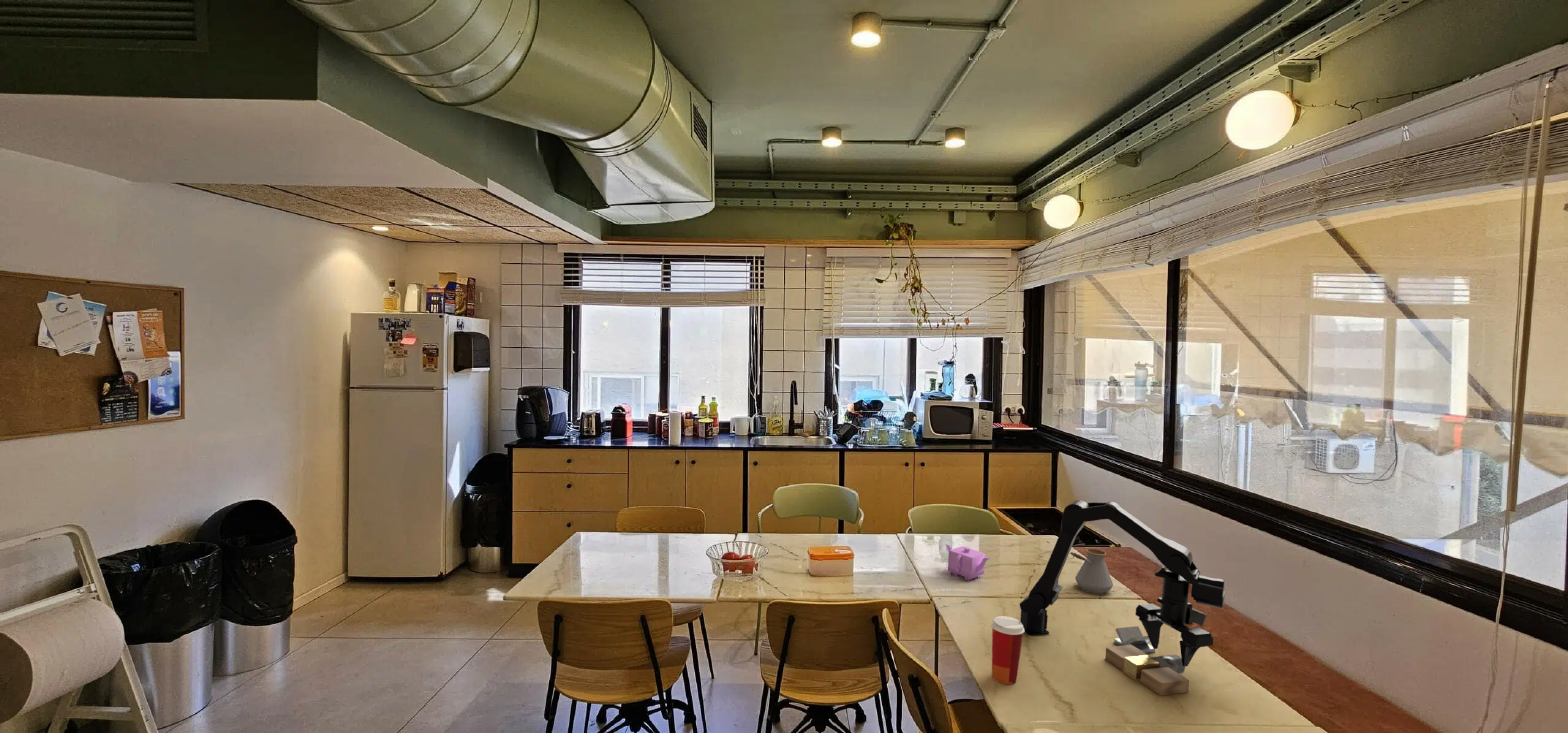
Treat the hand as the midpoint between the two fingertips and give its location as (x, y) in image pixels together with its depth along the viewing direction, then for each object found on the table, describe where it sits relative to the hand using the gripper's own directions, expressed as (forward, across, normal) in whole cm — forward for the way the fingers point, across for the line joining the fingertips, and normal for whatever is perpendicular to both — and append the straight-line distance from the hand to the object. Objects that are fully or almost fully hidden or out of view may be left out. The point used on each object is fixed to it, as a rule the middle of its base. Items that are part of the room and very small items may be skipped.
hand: (1169, 657), depth 170 cm
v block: (+4, +13, -2) cm, 14 cm away
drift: (+4, 0, +8) cm, 9 cm away
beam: (+4, 0, +7) cm, 8 cm away
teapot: (+4, +69, +16) cm, 71 cm away
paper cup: (+4, +5, +44) cm, 45 cm away
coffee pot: (+4, +49, -16) cm, 52 cm away
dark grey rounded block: (+4, 0, +2) cm, 4 cm away
